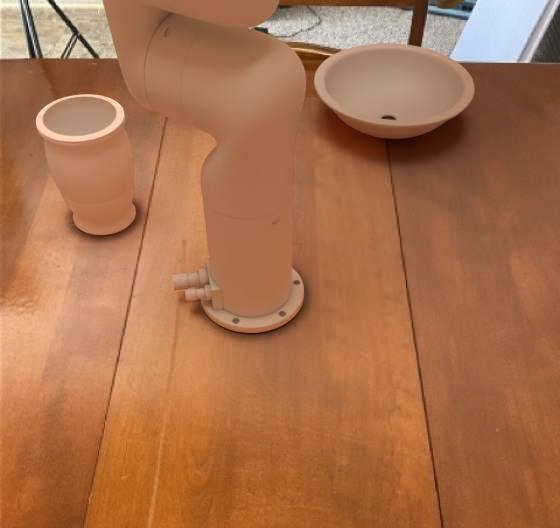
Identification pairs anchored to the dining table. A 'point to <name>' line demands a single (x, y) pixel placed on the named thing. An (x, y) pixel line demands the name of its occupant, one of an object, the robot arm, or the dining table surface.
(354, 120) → the beige sink basin
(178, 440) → the dining table surface
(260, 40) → the robot arm
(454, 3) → the stamp with round base
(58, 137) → the jar
